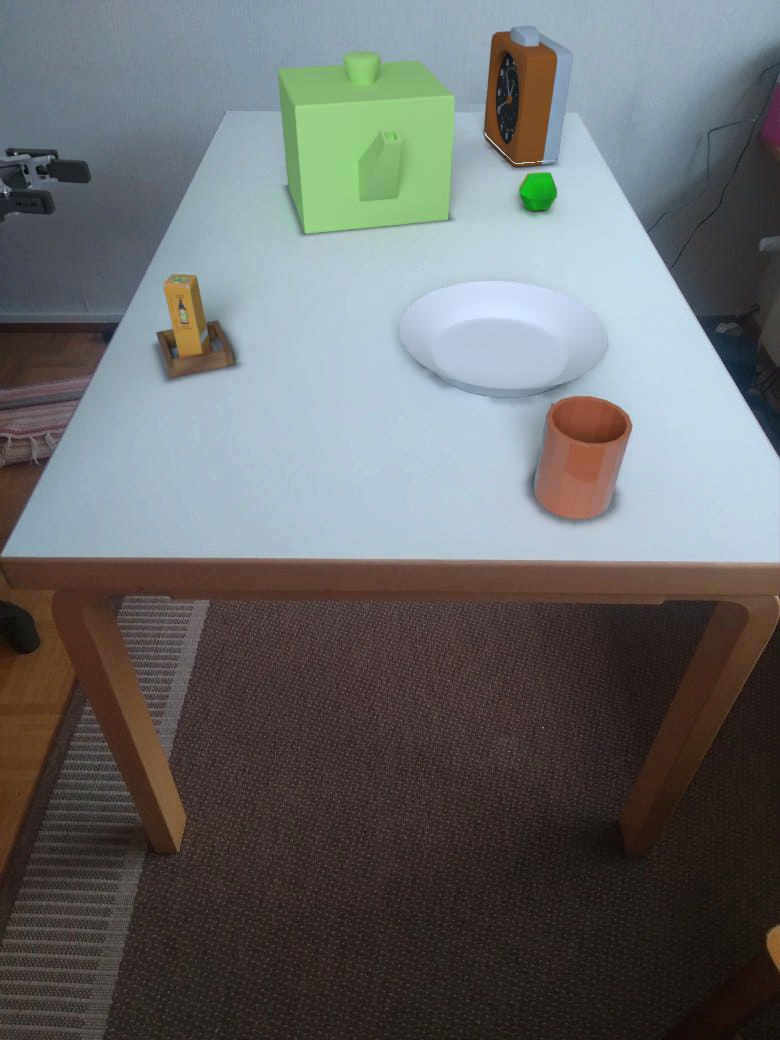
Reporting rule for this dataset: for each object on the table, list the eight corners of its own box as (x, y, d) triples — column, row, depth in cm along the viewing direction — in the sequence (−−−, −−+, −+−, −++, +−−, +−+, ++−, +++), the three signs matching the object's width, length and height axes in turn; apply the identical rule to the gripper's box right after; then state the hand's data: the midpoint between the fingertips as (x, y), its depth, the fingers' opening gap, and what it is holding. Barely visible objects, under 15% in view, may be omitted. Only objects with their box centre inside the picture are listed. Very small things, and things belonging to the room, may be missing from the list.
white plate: (593, 432, 80) (599, 405, 77) (374, 396, 85) (373, 369, 82) (608, 319, 97) (614, 294, 94) (425, 295, 102) (426, 270, 99)
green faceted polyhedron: (552, 169, 115) (529, 150, 121) (520, 199, 117) (500, 178, 123) (573, 201, 120) (550, 180, 126) (542, 229, 122) (521, 207, 128)
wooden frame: (170, 378, 87) (166, 364, 86) (159, 345, 92) (155, 331, 91) (234, 365, 89) (231, 350, 88) (220, 333, 94) (217, 320, 93)
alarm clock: (481, 137, 148) (491, 16, 134) (522, 134, 150) (536, 14, 135) (514, 170, 135) (529, 40, 121) (558, 166, 137) (578, 37, 122)
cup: (558, 527, 70) (575, 454, 63) (519, 478, 75) (532, 406, 68) (626, 507, 72) (649, 434, 65) (583, 460, 77) (601, 388, 70)
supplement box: (213, 349, 92) (199, 273, 85) (204, 363, 89) (188, 287, 82) (188, 346, 92) (171, 271, 85) (178, 361, 90) (160, 285, 83)
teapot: (313, 257, 110) (301, 95, 95) (283, 173, 134) (270, 33, 119) (463, 241, 114) (475, 83, 98) (408, 162, 138) (410, 25, 123)
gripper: (-129, 165, 72) (25, 175, 70) (-48, 120, 82) (89, 127, 80) (-94, 240, 77) (51, 250, 76) (-21, 188, 87) (108, 196, 86)
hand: (70, 186), depth 78 cm, fingers open, 8 cm apart
